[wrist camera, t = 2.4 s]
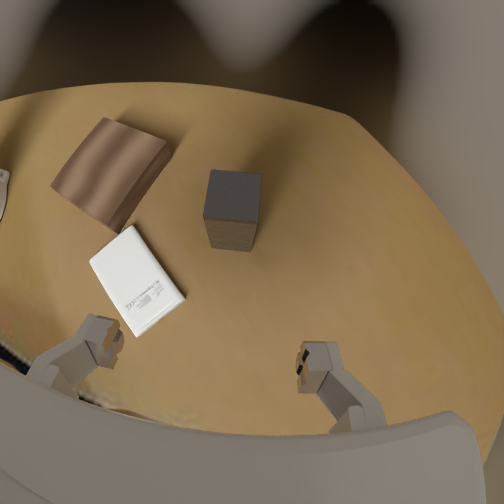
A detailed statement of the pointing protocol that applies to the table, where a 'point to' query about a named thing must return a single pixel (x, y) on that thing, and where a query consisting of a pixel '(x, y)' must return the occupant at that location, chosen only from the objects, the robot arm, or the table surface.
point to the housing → (232, 209)
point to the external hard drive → (135, 281)
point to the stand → (112, 172)
